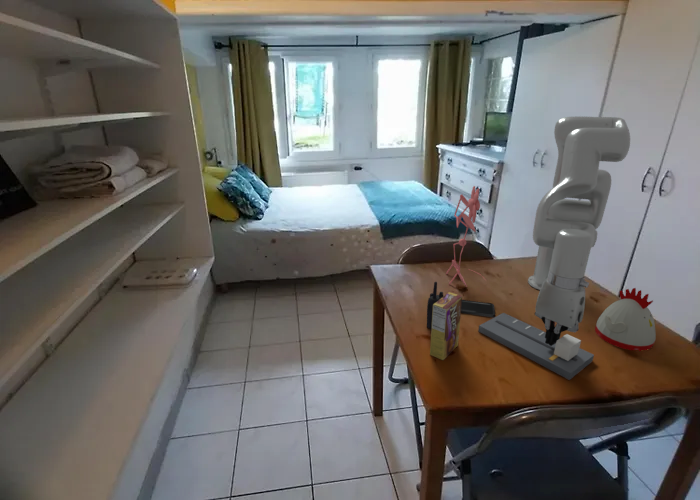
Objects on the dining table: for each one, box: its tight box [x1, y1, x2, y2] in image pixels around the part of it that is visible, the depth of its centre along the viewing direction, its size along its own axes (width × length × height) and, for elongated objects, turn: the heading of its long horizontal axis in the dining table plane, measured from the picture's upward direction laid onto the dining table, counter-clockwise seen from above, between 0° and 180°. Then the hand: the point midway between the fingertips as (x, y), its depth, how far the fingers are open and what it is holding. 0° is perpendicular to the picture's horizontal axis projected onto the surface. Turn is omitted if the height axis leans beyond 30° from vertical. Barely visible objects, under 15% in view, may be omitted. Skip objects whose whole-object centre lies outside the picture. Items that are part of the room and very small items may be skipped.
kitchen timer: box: [594, 287, 657, 352], centre depth 108 cm, size 14×14×15 cm
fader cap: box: [554, 333, 582, 361], centre depth 98 cm, size 5×4×4 cm
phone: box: [461, 299, 496, 318], centre depth 125 cm, size 8×1×15 cm
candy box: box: [429, 291, 463, 361], centre depth 102 cm, size 9×4×15 cm, turn 140°
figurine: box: [445, 185, 488, 293], centre depth 138 cm, size 15×26×35 cm, turn 174°
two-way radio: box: [426, 281, 444, 330], centre depth 113 cm, size 6×4×15 cm
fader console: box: [477, 312, 595, 381], centre depth 106 cm, size 12×26×2 cm, turn 36°
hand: (551, 342), depth 101 cm, fingers closed
